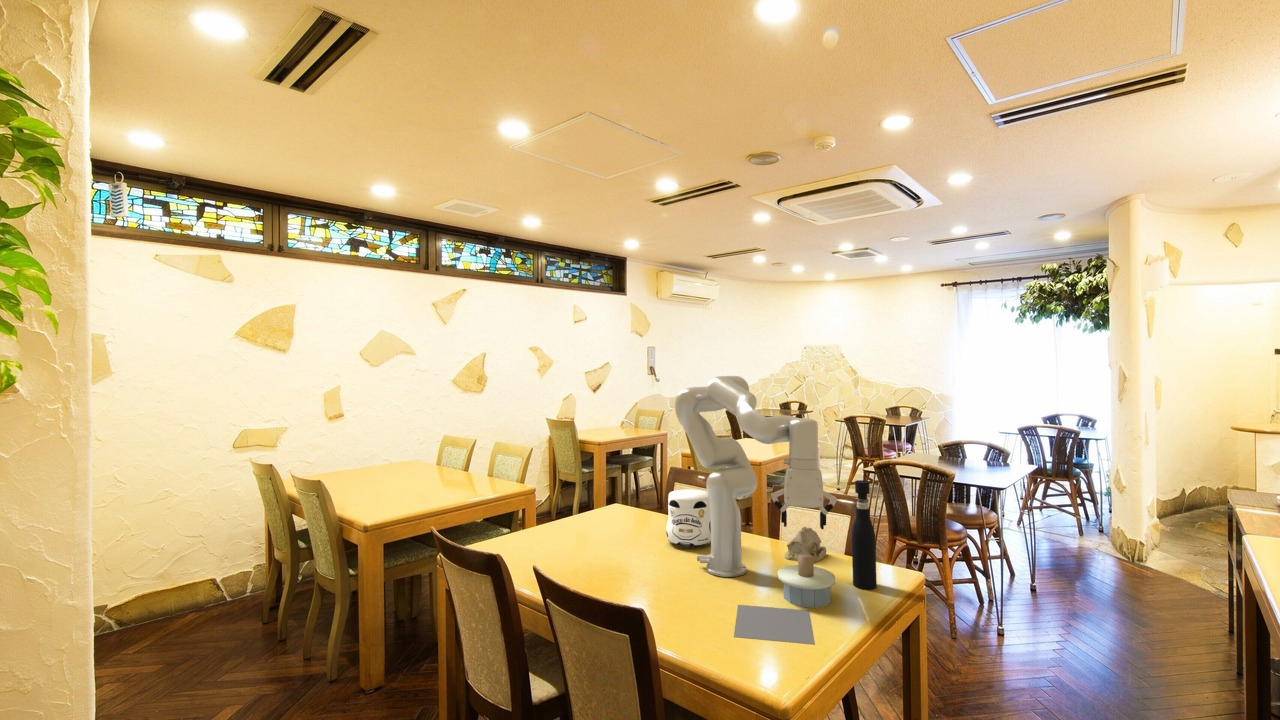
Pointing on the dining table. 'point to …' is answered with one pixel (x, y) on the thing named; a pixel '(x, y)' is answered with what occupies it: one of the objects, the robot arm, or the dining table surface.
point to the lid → (806, 574)
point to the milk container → (688, 518)
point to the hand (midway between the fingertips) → (803, 526)
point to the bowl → (807, 596)
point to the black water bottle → (863, 542)
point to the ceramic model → (805, 545)
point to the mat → (774, 624)
